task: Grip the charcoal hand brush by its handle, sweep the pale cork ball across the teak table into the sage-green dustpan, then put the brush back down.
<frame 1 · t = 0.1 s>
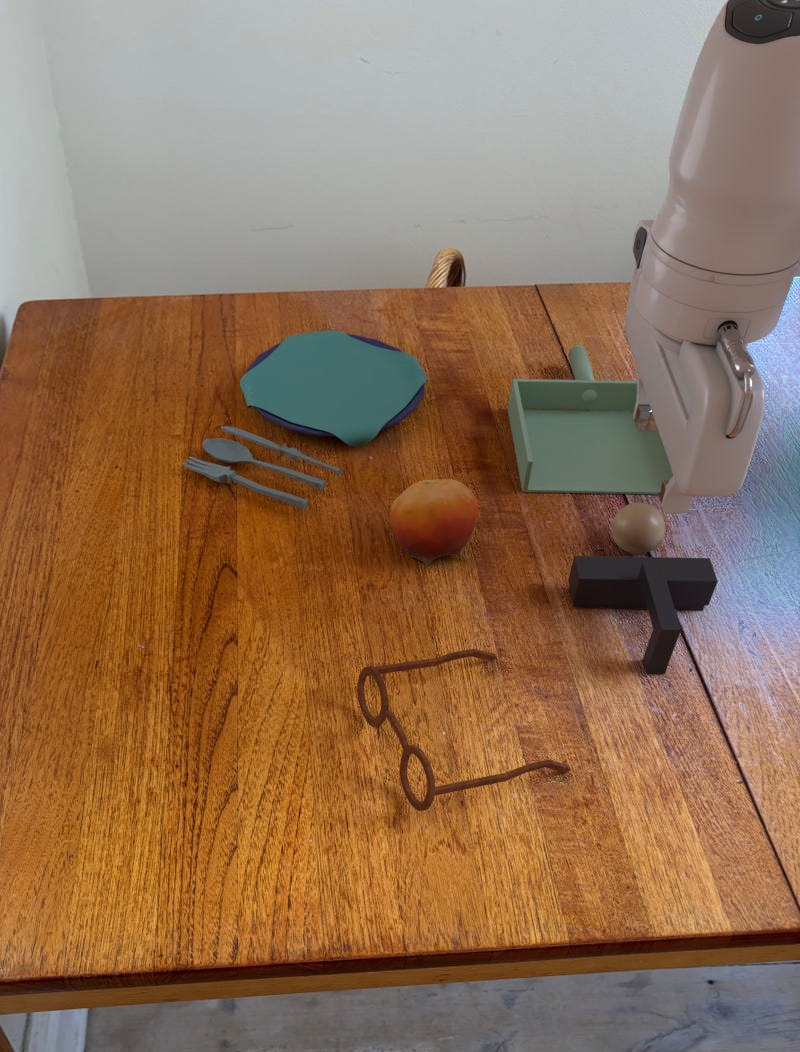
hand: (657, 464, 75), 20 cm above the table, tool pointing down, fingers open, 8 cm apart
cutlery set: (310, 419, 113), on the table
glasses: (459, 737, 83), on the table
fruit: (431, 545, 99), on the table
ball: (632, 547, 99), on the table
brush: (635, 599, 94), on the table
dustpan: (596, 451, 109), on the table
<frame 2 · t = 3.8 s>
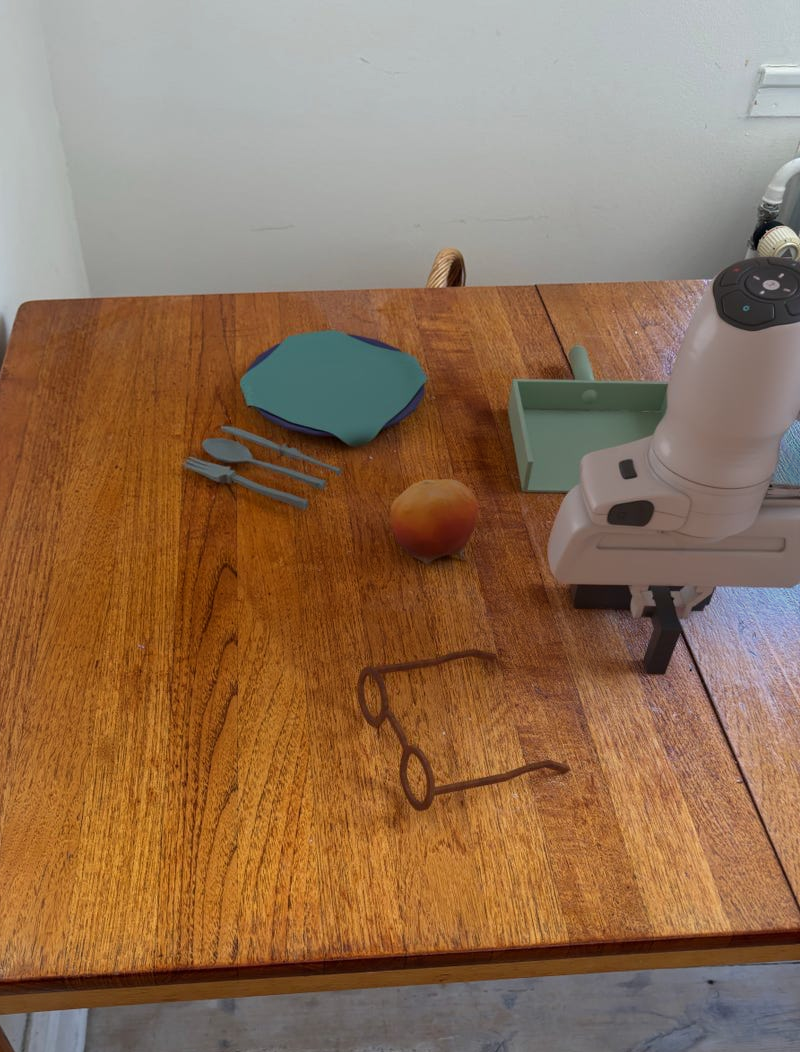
hand: (657, 613, 88), 4 cm above the table, tool pointing down, fingers closed on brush
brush: (635, 599, 94), on the table, touching gripper
everything else where it was.
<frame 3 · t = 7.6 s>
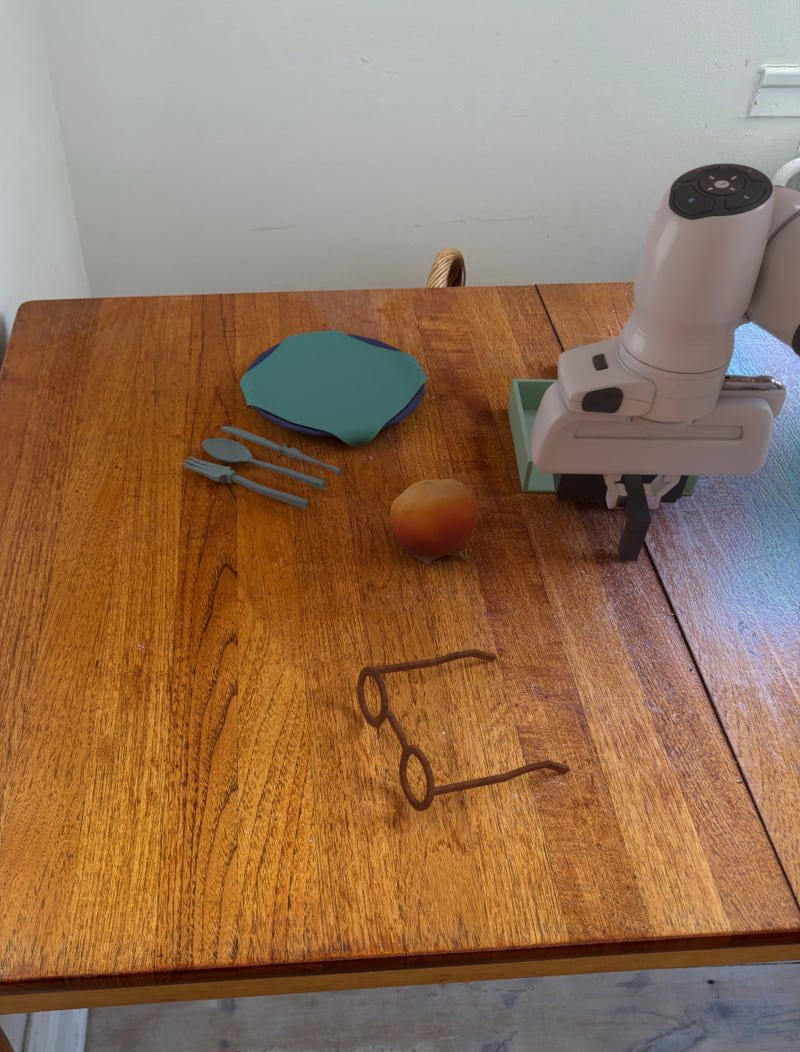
hand: (630, 504, 97), 4 cm above the table, tool pointing down, fingers closed on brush
ball: (605, 442, 108), point 1 cm above the table, tilted 58°, touching dustpan
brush: (614, 492, 103), point 1 cm above the table, tilted 5°, touching gripper
everything else where it was.
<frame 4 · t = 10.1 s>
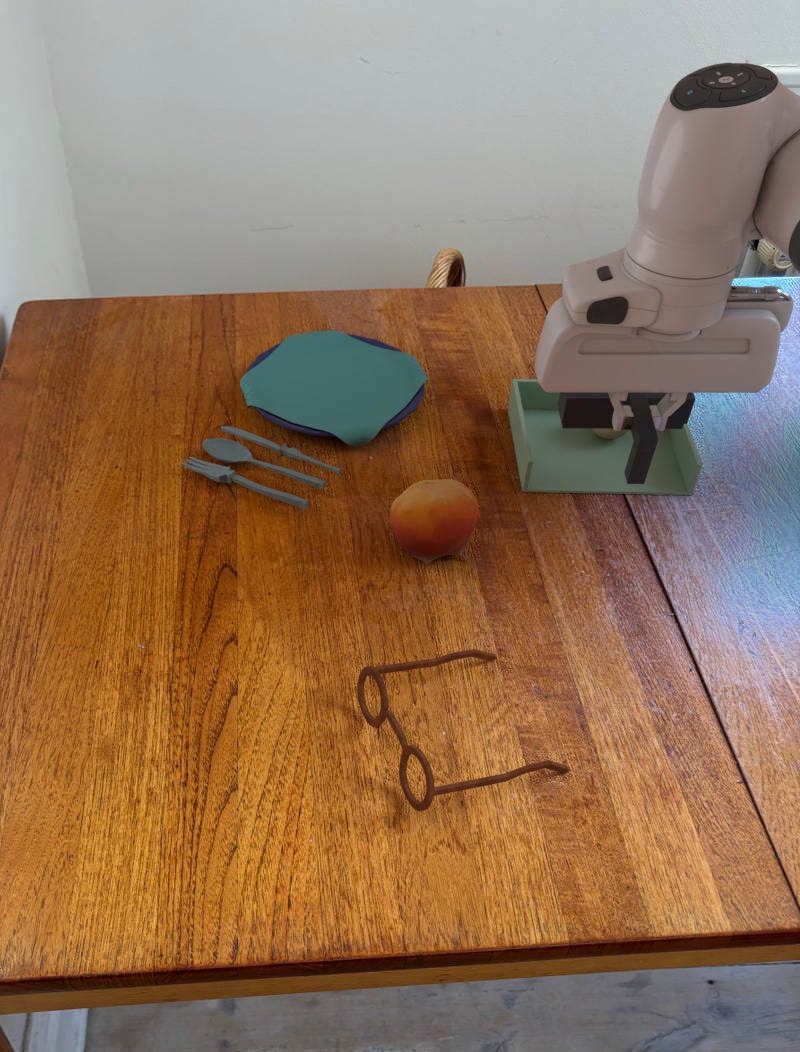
hand: (637, 427, 96), 10 cm above the table, tool pointing down, fingers closed on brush
ball: (611, 436, 108), point 1 cm above the table, tilted 60°, touching dustpan
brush: (619, 420, 102), point 7 cm above the table, tilted 5°, touching gripper
everything else where it was.
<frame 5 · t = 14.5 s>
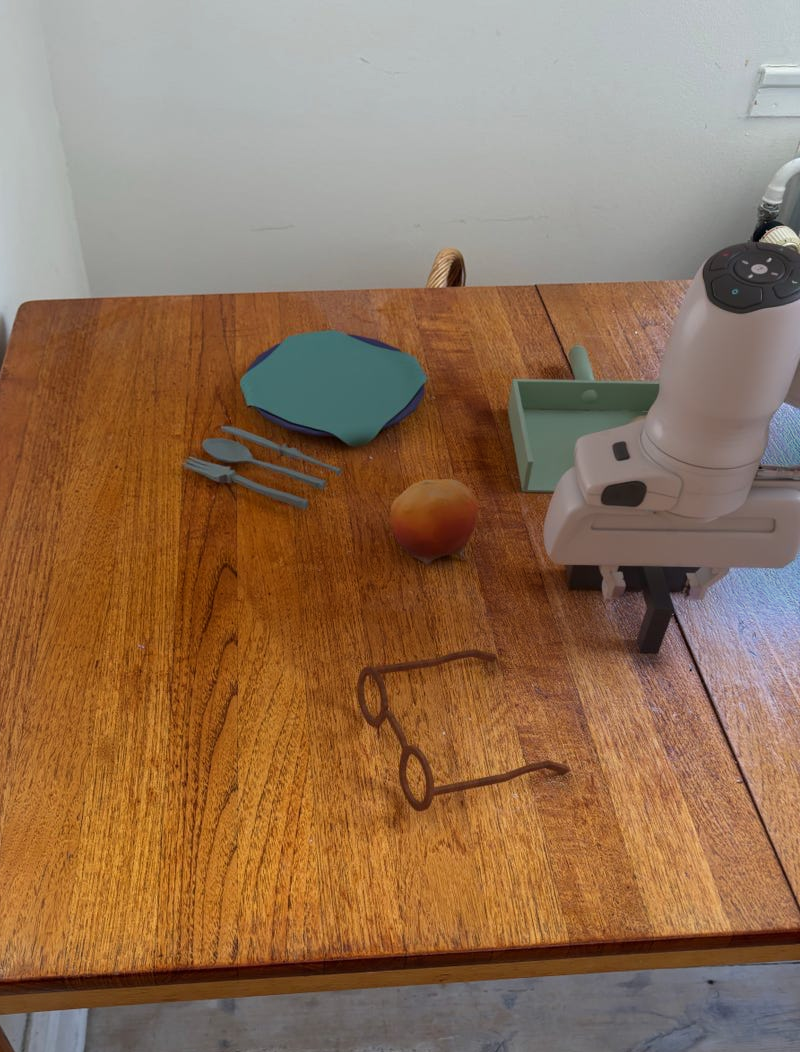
hand: (651, 594, 90), 3 cm above the table, tool pointing down, fingers open, 5 cm apart
ball: (621, 441, 107), point 2 cm above the table, tilted 66°, touching dustpan
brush: (629, 580, 96), on the table
everything else where it was.
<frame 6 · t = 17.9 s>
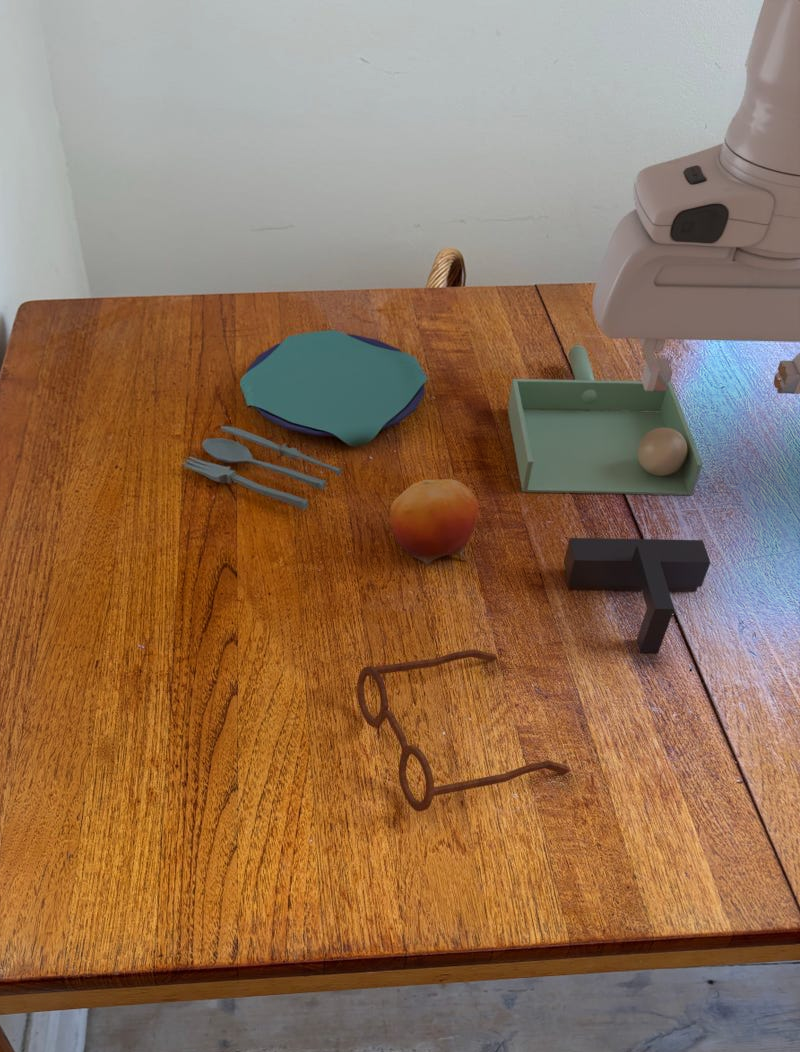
hand: (719, 388, 74), 24 cm above the table, tool pointing down, fingers open, 8 cm apart
ball: (642, 438, 105), point 4 cm above the table, tilted 115°, touching dustpan
everything else where it was.
at the end: ball inside the target area in the dustpan (4.6 cm from its centre), point 3.7 cm above the dustpan's base; ball moved 13.1 cm from its start; the gripper is holding nothing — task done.
